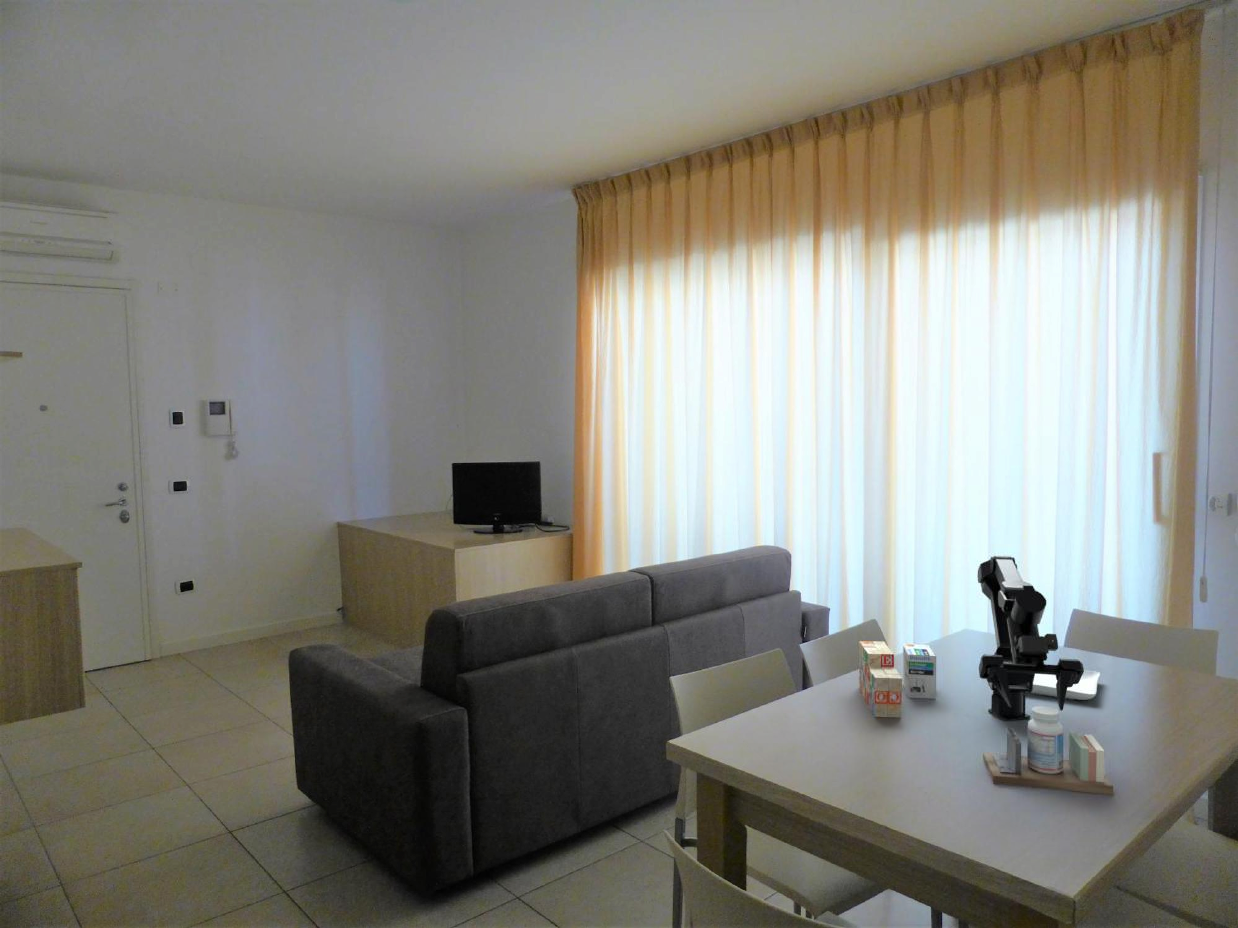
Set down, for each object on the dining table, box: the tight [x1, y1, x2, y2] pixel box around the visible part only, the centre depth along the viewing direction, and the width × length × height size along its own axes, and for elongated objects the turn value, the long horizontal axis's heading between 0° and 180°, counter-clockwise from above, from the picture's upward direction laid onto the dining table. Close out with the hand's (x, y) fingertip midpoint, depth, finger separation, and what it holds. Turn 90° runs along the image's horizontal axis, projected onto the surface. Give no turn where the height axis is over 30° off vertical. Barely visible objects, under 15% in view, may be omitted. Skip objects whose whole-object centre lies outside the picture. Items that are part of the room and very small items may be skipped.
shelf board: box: [982, 752, 1114, 795], centre depth 159 cm, size 11×20×2 cm, turn 76°
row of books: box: [1068, 731, 1106, 782], centre depth 157 cm, size 8×4×6 cm, turn 166°
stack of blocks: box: [858, 640, 903, 718], centre depth 201 cm, size 21×6×12 cm, turn 173°
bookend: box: [993, 727, 1022, 775], centre depth 160 cm, size 8×4×6 cm, turn 166°
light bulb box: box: [902, 643, 937, 700], centre depth 209 cm, size 11×7×11 cm, turn 168°
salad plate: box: [1026, 663, 1101, 701], centre depth 212 cm, size 21×21×3 cm
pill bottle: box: [1026, 705, 1064, 774], centre depth 159 cm, size 6×6×11 cm
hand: (1036, 707), depth 166 cm, fingers open, 9 cm apart
